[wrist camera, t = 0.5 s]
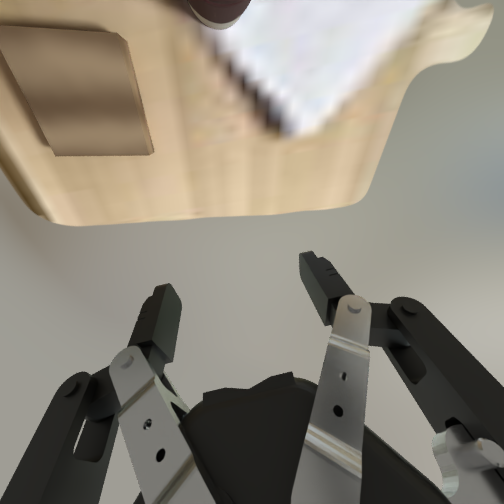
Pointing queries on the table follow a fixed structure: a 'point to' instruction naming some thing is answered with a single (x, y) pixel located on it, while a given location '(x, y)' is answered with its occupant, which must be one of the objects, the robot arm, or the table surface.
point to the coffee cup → (218, 12)
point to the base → (79, 89)
